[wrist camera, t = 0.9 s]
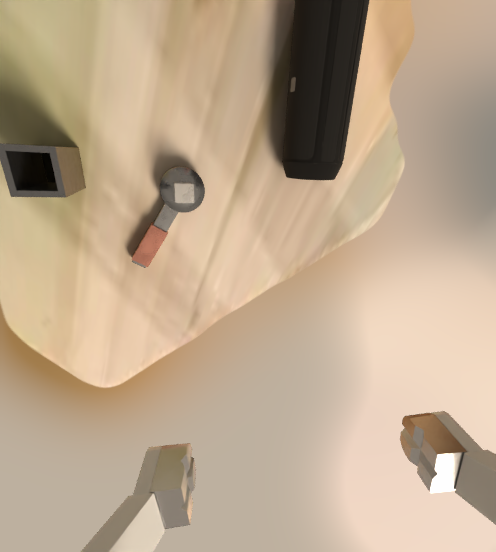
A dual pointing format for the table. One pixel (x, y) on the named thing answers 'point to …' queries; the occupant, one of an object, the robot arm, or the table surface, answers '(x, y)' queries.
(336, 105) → the portable speaker
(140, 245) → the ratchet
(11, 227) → the table surface
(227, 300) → the table surface
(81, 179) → the square metal cup
